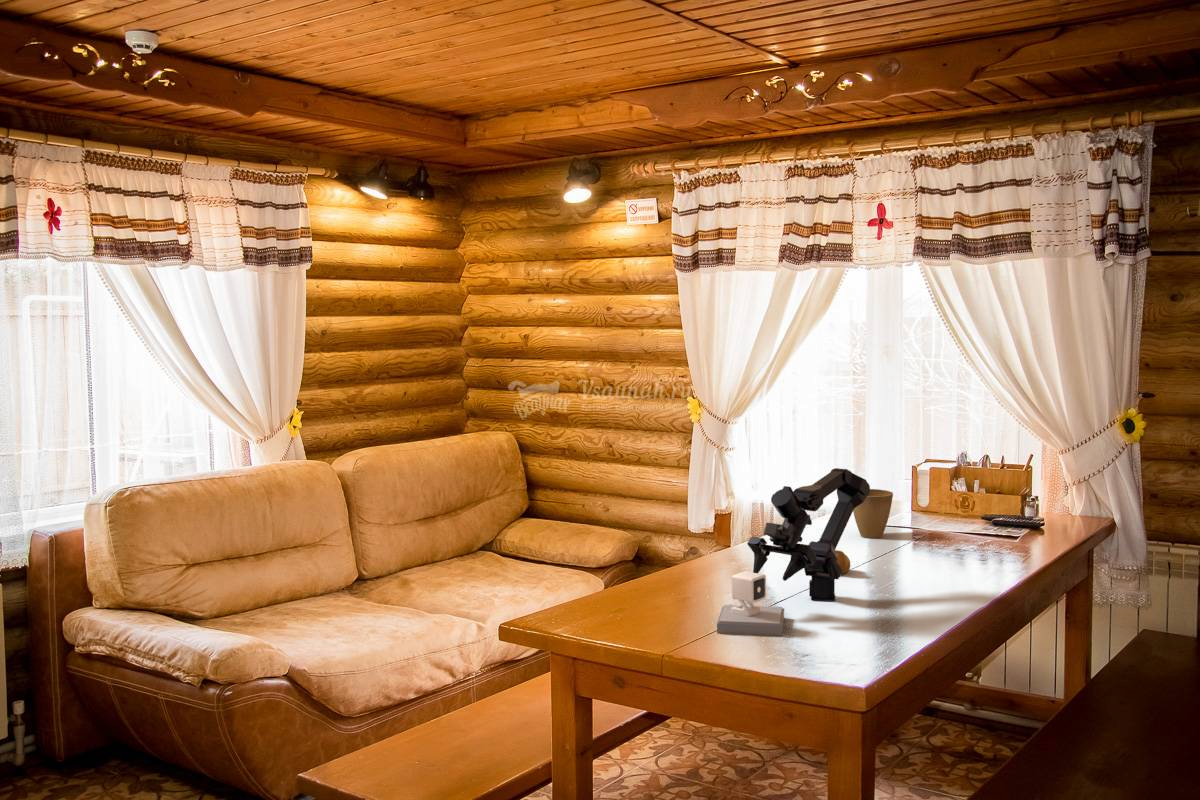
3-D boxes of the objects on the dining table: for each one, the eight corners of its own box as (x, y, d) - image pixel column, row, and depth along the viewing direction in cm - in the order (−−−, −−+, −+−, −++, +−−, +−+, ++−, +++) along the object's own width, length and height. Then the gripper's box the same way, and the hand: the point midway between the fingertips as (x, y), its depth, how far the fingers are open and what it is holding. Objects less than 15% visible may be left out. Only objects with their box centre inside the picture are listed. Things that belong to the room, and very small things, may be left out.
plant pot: (841, 535, 378) (841, 491, 377) (874, 530, 384) (874, 487, 383) (868, 542, 365) (868, 496, 364) (902, 538, 371) (902, 493, 370)
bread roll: (803, 572, 325) (803, 546, 324) (819, 566, 332) (819, 541, 331) (840, 578, 316) (840, 552, 315) (856, 572, 323) (856, 546, 322)
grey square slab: (784, 617, 275) (784, 606, 275) (781, 635, 259) (781, 623, 259) (722, 615, 278) (722, 604, 278) (717, 633, 263) (716, 621, 262)
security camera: (752, 618, 265) (751, 578, 264) (729, 613, 269) (729, 574, 269) (766, 612, 269) (766, 574, 268) (744, 608, 274) (743, 570, 273)
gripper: (750, 506, 283) (726, 554, 276) (810, 514, 270) (786, 564, 263) (768, 531, 289) (744, 578, 282) (827, 539, 276) (804, 589, 269)
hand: (768, 577), depth 274 cm, fingers open, 9 cm apart
